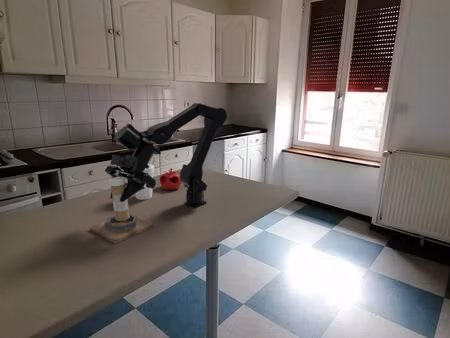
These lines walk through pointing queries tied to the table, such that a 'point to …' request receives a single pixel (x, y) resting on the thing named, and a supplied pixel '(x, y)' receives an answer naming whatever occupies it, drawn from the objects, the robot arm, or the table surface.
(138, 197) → the foam cup
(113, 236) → the collar plate
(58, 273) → the table surface
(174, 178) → the pomegranate
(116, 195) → the sprinkles bottle
